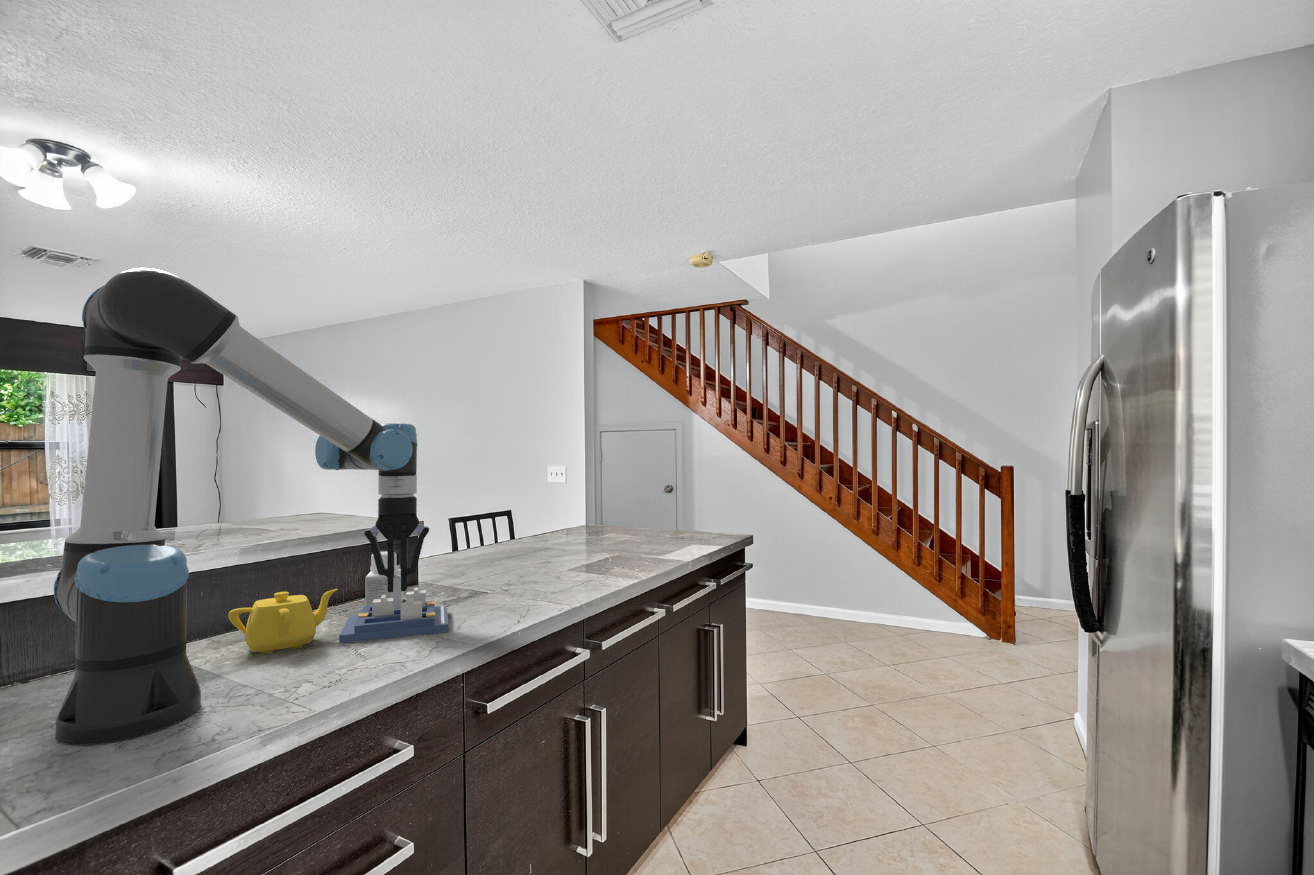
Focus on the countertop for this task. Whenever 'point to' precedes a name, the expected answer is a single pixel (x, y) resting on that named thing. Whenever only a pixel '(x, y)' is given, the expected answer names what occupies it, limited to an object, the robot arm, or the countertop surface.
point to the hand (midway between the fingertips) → (397, 606)
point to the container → (380, 579)
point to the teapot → (280, 622)
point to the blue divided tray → (394, 624)
